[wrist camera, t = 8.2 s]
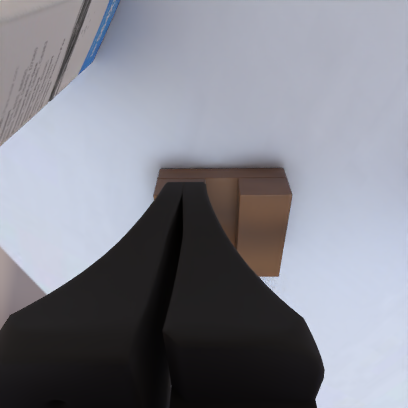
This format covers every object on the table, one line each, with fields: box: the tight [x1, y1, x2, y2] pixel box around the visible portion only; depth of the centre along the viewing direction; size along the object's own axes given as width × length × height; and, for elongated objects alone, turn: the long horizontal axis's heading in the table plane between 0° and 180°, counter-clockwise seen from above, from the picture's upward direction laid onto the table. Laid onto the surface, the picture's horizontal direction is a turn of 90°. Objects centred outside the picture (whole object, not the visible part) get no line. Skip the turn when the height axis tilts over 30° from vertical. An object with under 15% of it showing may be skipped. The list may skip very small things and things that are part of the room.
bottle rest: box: [153, 168, 292, 277], centre depth 23 cm, size 7×8×3 cm
